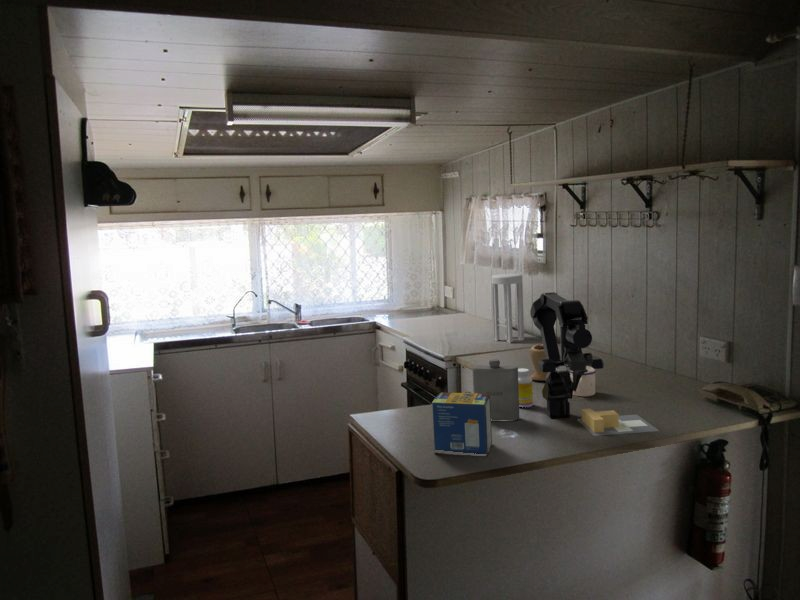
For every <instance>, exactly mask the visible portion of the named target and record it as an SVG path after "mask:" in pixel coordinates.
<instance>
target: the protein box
mask: <svg viewBox="0 0 800 600" xmlns="http://www.w3.org/2000/svg"><path fill="white" fill-rule="evenodd" d="M431 405H432V406H431V408H432V427H433V428H432V429H433V447H434V448H433V449H434V450H444V451H453V452H463V453H474V454H475V453H476V454H487V452H488V450H489V448H490V446H491V447H492V445H493V436H492V435H493V433H492V421H491V409H490V394H478V393H473V392H469V393H467V392H439V394H438V395H437V396H435V398H434V399H433V401H432V402H431ZM491 444H492V445H491ZM490 449H491V448H490ZM489 451H490V450H489ZM488 453H489V452H488Z"/></svg>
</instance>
